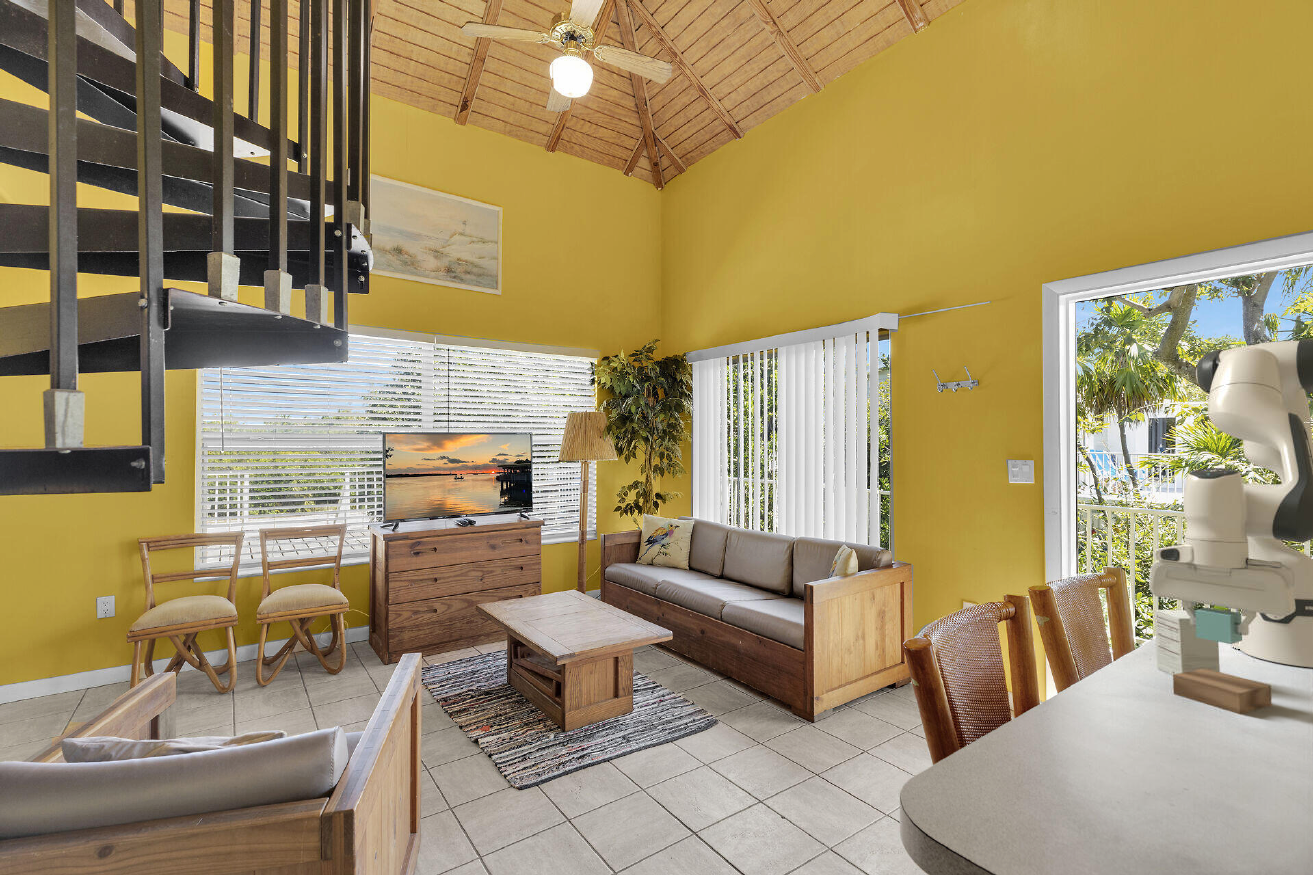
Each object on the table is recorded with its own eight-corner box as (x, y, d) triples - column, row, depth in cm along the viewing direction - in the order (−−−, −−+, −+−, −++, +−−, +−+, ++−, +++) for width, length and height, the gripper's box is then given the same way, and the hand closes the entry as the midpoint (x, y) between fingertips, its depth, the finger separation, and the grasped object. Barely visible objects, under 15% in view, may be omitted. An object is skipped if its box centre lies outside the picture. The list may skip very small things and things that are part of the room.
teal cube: (1207, 633, 117) (1206, 607, 117) (1242, 640, 113) (1241, 613, 113) (1196, 637, 115) (1195, 610, 115) (1231, 644, 110) (1230, 616, 111)
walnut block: (1205, 688, 120) (1204, 667, 120) (1271, 707, 111) (1270, 685, 111) (1173, 695, 116) (1173, 674, 116) (1239, 716, 107) (1239, 693, 107)
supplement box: (1193, 669, 130) (1190, 609, 130) (1221, 682, 123) (1219, 618, 123) (1155, 668, 131) (1153, 608, 131) (1181, 680, 123) (1179, 617, 124)
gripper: (1300, 561, 107) (1303, 641, 106) (1159, 547, 125) (1161, 616, 124) (1286, 564, 104) (1290, 646, 103) (1144, 549, 122) (1146, 619, 121)
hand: (1218, 629), depth 114 cm, fingers closed on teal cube, 5 cm apart
